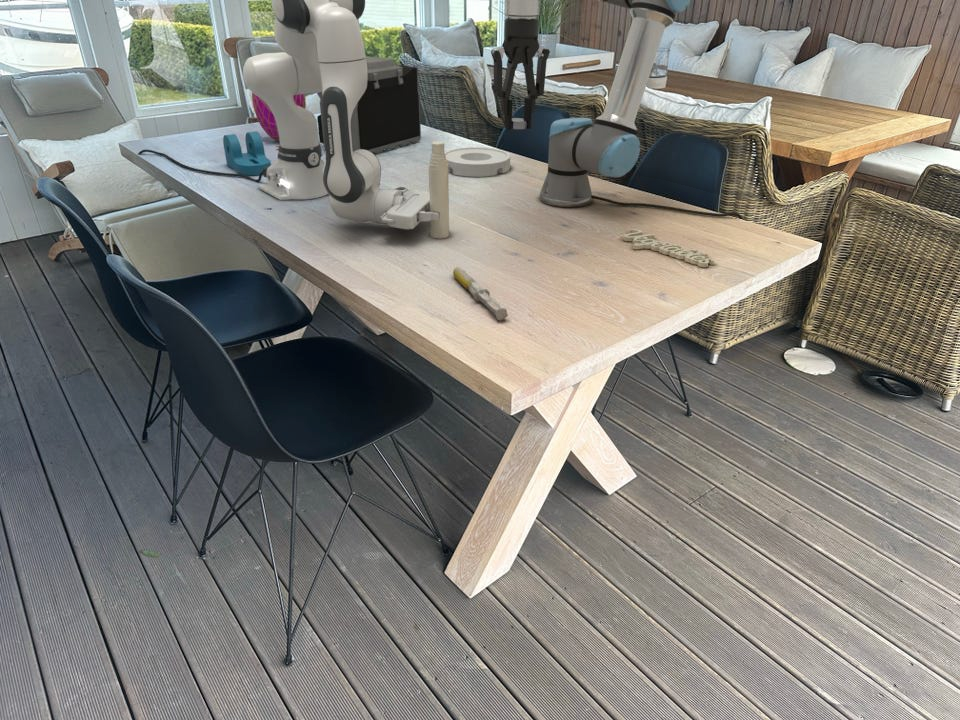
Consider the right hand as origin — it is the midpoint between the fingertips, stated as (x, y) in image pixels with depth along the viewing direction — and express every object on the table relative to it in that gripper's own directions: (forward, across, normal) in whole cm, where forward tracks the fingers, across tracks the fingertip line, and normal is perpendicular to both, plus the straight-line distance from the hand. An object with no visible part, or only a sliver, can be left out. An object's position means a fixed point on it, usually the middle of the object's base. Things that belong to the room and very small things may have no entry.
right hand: (517, 127), depth 161 cm
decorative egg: (+27, +46, -126) cm, 137 cm away
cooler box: (+27, +16, -107) cm, 112 cm away
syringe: (+28, +20, +30) cm, 46 cm away
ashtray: (+27, -12, -67) cm, 73 cm away
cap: (-2, 0, 0) cm, 2 cm away
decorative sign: (+27, -32, +19) cm, 46 cm away
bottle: (+27, +17, -8) cm, 33 cm away
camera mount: (+27, +60, -87) cm, 109 cm away
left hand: (+21, +16, -8) cm, 28 cm away
